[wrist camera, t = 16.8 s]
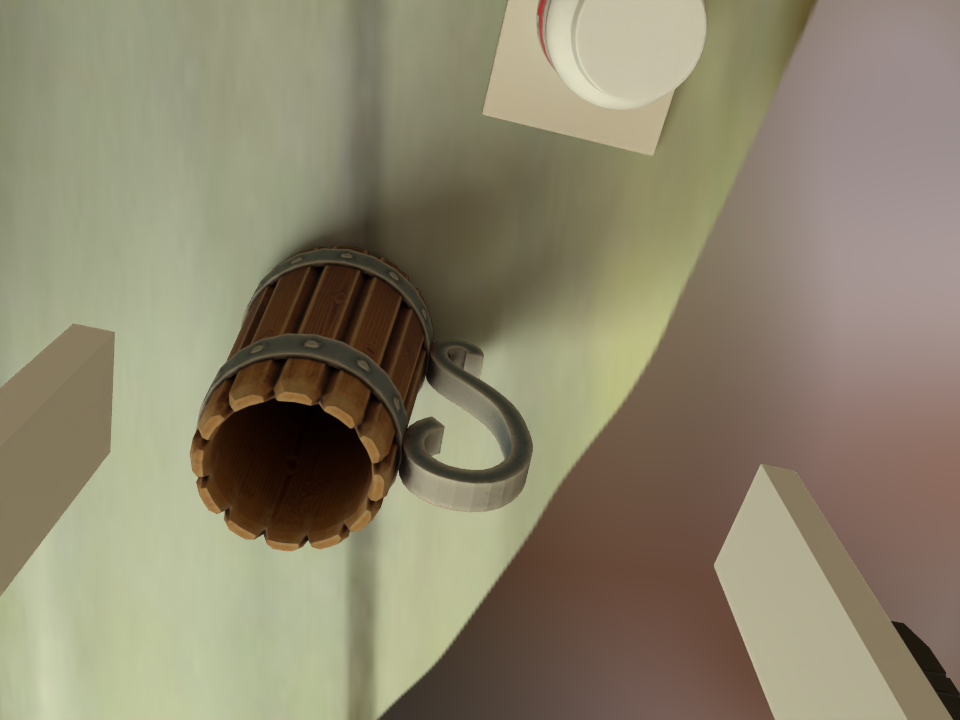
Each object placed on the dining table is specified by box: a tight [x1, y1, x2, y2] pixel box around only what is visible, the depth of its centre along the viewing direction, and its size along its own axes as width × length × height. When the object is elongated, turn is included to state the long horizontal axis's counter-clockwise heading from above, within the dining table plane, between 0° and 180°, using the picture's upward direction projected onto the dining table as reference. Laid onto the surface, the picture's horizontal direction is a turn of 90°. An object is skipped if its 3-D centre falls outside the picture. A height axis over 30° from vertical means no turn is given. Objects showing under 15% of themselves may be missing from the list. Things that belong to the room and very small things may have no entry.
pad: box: [482, 0, 675, 156], centre depth 39 cm, size 9×9×1 cm
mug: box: [190, 246, 533, 551], centre depth 40 cm, size 16×11×15 cm
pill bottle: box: [536, 0, 707, 110], centre depth 33 cm, size 6×6×11 cm
